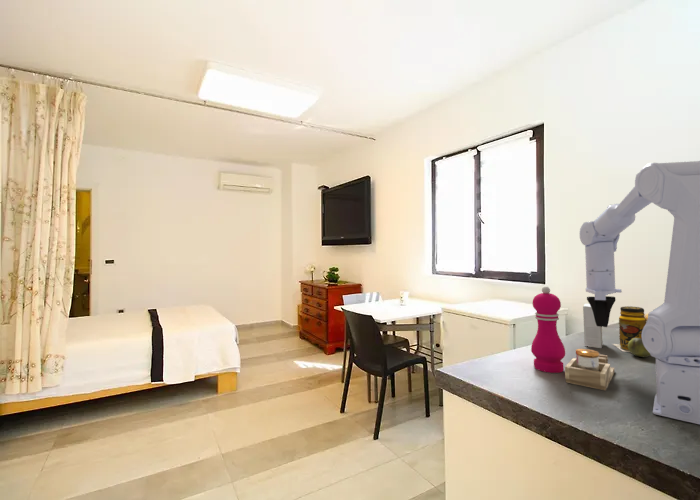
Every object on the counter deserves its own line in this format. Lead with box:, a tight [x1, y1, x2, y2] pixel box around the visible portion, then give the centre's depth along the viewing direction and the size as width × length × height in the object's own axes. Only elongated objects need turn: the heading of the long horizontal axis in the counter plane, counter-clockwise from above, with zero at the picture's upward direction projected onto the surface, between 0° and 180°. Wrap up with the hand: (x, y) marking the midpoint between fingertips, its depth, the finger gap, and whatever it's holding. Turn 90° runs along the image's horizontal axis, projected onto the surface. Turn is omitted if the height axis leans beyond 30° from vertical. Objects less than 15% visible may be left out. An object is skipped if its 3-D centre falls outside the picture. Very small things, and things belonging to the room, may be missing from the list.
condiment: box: [612, 305, 648, 353], centre depth 98 cm, size 7×8×12 cm
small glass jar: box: [575, 348, 600, 371], centre depth 75 cm, size 4×4×6 cm
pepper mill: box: [530, 286, 566, 374], centre depth 84 cm, size 7×7×20 cm
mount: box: [564, 353, 616, 391], centre depth 77 cm, size 14×7×4 cm, turn 136°
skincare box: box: [582, 303, 604, 349], centre depth 103 cm, size 6×4×12 cm
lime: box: [628, 338, 651, 358], centre depth 91 cm, size 4×5×5 cm
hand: (601, 326), depth 84 cm, fingers closed
